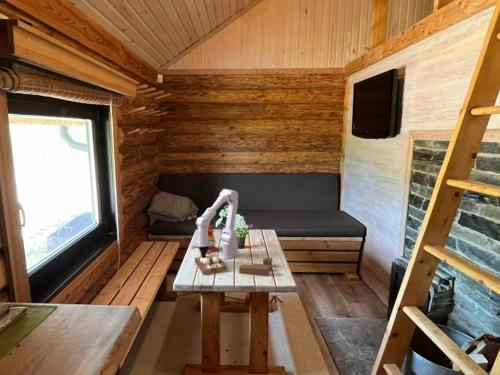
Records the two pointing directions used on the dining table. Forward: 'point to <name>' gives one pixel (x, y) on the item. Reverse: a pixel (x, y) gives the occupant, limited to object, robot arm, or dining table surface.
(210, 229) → the stacking bear
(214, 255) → the button
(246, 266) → the wooden block set
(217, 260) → the button
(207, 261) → the button
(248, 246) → the dining table surface
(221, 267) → the button board
